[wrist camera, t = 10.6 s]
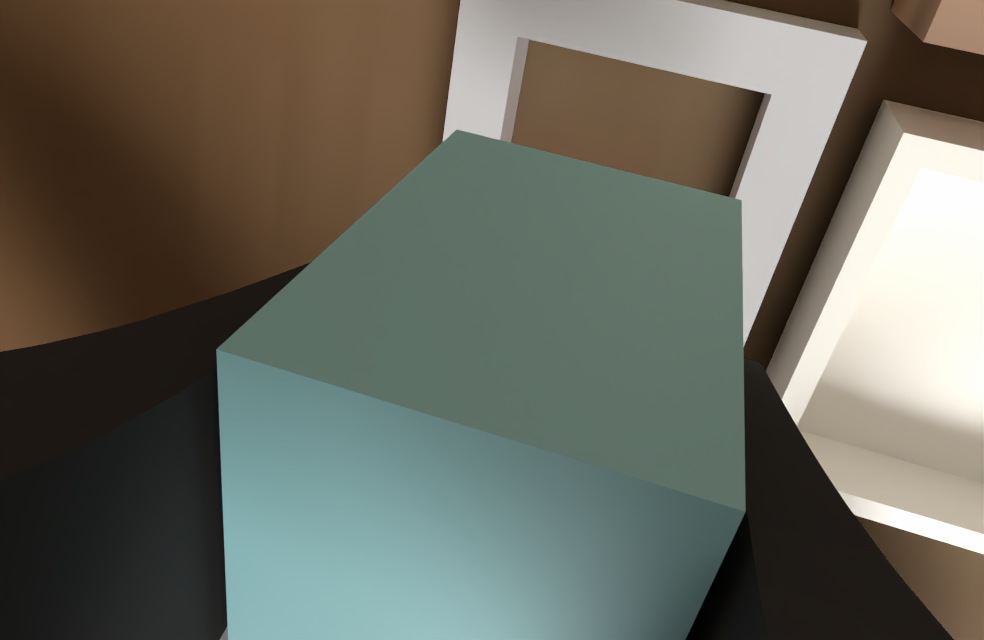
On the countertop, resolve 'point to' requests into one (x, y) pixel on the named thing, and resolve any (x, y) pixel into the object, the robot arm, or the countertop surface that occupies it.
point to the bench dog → (945, 22)
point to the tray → (898, 331)
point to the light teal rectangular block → (491, 411)
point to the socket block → (689, 51)
